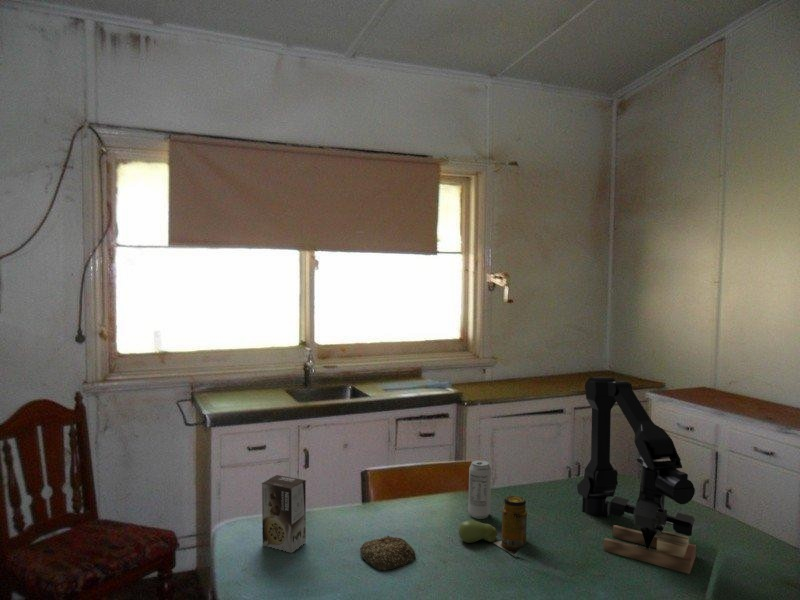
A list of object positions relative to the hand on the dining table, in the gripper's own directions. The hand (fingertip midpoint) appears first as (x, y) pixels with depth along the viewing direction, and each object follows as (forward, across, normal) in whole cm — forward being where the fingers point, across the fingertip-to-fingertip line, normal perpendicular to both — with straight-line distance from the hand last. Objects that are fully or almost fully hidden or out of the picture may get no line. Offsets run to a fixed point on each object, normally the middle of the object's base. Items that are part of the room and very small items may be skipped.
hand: (647, 549), depth 143 cm
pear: (+4, -38, -16) cm, 41 cm away
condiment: (+4, -28, -14) cm, 31 cm away
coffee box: (+6, -76, -46) cm, 89 cm away
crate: (+1, +5, 0) cm, 5 cm away
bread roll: (+5, -51, -36) cm, 62 cm away
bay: (+2, 0, 0) cm, 2 cm away
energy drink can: (+4, -44, -2) cm, 44 cm away
